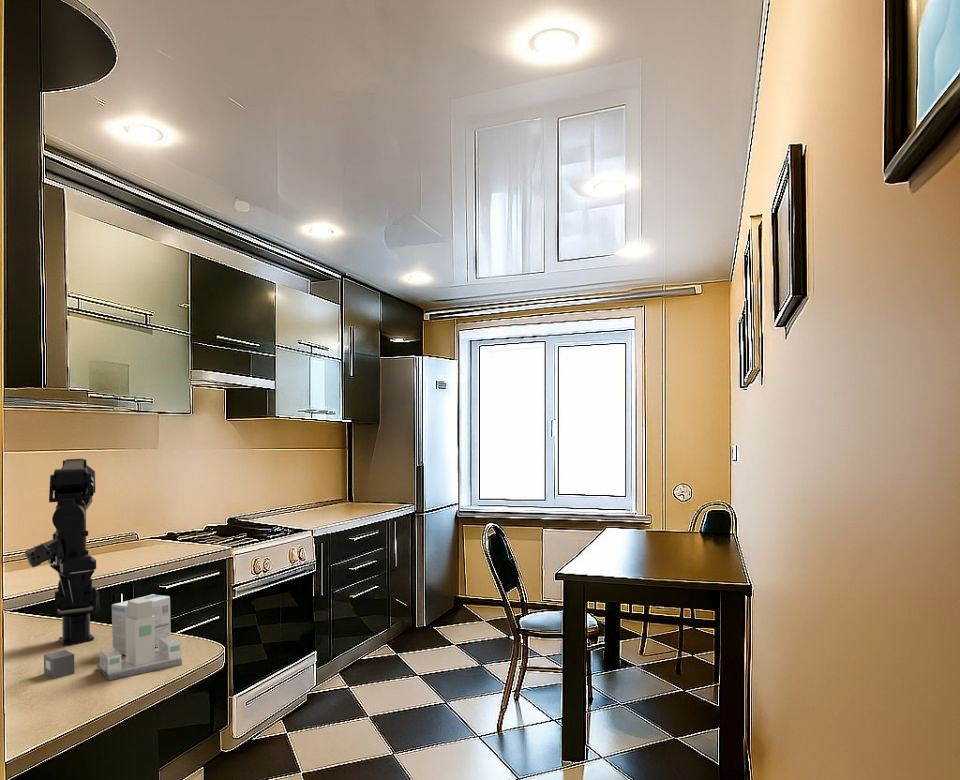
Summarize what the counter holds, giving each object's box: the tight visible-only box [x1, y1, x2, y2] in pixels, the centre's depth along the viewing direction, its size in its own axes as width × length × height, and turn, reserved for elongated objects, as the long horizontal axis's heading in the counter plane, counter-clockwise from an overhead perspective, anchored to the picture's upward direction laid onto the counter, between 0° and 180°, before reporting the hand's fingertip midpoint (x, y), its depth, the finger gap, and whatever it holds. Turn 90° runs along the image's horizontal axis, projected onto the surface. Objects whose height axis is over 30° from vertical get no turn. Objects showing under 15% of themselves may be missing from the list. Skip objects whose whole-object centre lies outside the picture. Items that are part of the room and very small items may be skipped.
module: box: [125, 597, 156, 665], centre depth 154 cm, size 5×4×12 cm
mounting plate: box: [96, 635, 183, 681], centre depth 155 cm, size 10×14×4 cm
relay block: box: [43, 649, 76, 680], centre depth 152 cm, size 5×4×4 cm
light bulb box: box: [111, 593, 172, 656], centre depth 168 cm, size 11×7×11 cm, turn 149°
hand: (71, 600), depth 160 cm, fingers open, 9 cm apart
